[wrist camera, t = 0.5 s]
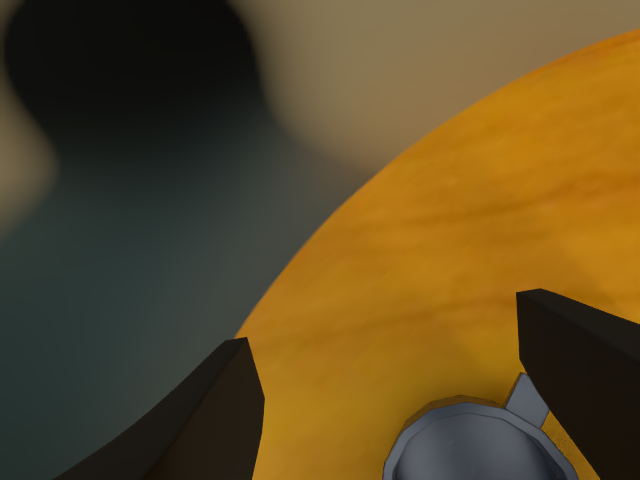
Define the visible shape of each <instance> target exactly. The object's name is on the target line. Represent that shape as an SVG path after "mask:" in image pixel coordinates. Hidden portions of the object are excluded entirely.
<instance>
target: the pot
mask: <svg viewBox="0 0 640 480" xmlns="http://www.w3.org/2000/svg"><path fill="white" fill-rule="evenodd" d="M549 411H550V409H549V408H548V406H547V405H546V404H545V402H544V401H543V399H542V398H541V396H540V395H539V394H538V392H537V390H536V389H535V387H534V385H533V383H532V382H531V380H530V378H529V376H528V375H527V374H525V373H523V372H520V373H519V375H518V377H517V379H516V381H515V382H514V384H513V386H512V388H511V390H510V392H509V394H508V396H507V398H506V400H505V402H504V404H503V406H501V405H500V404H498V403H496V402H495V401H492V400H486V399H481V398H476V397H469V396H463V395H458V396H454V397H449V398H444V399H441V400H437V401H432V402H430V403H428V404H427V405H426V406H424V407H423V408H422V409H420V410H419V411H417V412H416V413H415V414H414V415H413V416H411V417H410V418H409V419H408V420H407V421H406V422H405V424H404V426H403V427H402V429H401V431H400V433H399V435H398V437H397V439H396V441H395V442H394V444H393V446H392V448H391V450H390V453H389V455H388V457H387V459H386V461H385V463H384V467H383V477H382V480H579V478H578V476H577V473H576V471H575V469H574V468H573V465H572V464H571V463H570V462H569V461H568V459H567V458H566V457H565V456H564V455H563V454H562V452H561V451H560V450H559V449H558V448H557V446H556V445H555V444H554V443H553V442H552V441H551V439H550V438H549V437H548V436H547V435H546V433H545V432H543V431H542V430H541V427H542V425H543V423H544V421H545V419H546V417H547V415H548V413H549Z"/></svg>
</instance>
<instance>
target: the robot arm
mask: <svg viewBox="0 0 640 480" xmlns="http://www.w3.org/2000/svg"><path fill="white" fill-rule="evenodd" d="M516 299H517V319H518V338H519V358H520V361H521V363H522V365H523V367H524V368H525V370H526V372H527V374H528V376H529V378H530V380H531V382H532V383H533V385H534V387H535V389H536V390H537V392H538V394H539V395H540V396H541V398H542V399H543V401H544V402H545V404H546V405H547V406H548V408H549V409H550V410H551V412H552V413H553V415H554V416H555V417H556V419H557V420H558V421H559V423H560V424H561V426H562V427H563V428H564V430H565V431H566V432H567V434H568V435H569V436H570V438H571V439H572V440H573V442H574V443H575V445H576V446H577V447H578V449H579V450H580V451H581V453H582V454H583V455H584V457H585V458H586V459H587V461H588V462H589V464H590V465H591V466H592V468H593V469H594V470H595V472H596V473H597V475H598V476H599V478H600V479H601V480H640V324H637V323H634V322H631V321H629V320H626V319H623V318H620V317H617V316H615V315H612V314H609V313H607V312H604V311H601V310H599V309H596V308H593V307H591V306H588V305H586V304H583V303H580V302H578V301H575V300H573V299H570V298H567V297H565V296H562V295H559V294H557V293H554V292H551V291H548V290H544V289H541V288H540V289H534V290H528V291H522V292H516ZM264 402H265V397H264V394H263V390H262V387H261V383H260V380H259V377H258V373H257V370H256V366H255V363H254V359H253V356H252V352H251V349H250V346H249V342H248V339H247V337H244V338H238V339H232V340H226V341H224V342H223V343H222V344H221V345H220V346H218V348H216V349H215V350H214V351H213V352H212V353H211V354H210V355H209V356H208V357H207V358H206V359H205V360H204V361H203V362H202V363H201V364H200V365H199V366H198V367H197V368H196V369H195V370H194V371H193V372H192V373H191V374H190V375H189V376H187V377H186V378H185V379H184V380H183V381H182V382H181V383H180V384H179V385H178V386H177V387H176V388H175V389H174V390H173V391H171V392H170V393H169V394H168V395H167V396H166V397H165V398H164V399H162V401H160V402H159V403H158V404H157V405H156V406H155V407H154V408H152V409H151V410H150V411H149V412H148V413H147V414H145V415H144V416H143V417H142V418H141V419H139V420H138V421H137V422H136V423H134V424H133V425H132V426H130V427H129V428H128V429H127V430H125V431H124V432H123V433H121V434H120V435H119V436H117V437H116V438H115V439H113V440H112V441H110V442H109V443H108V444H106V445H105V446H103V447H102V448H100V449H99V450H97V451H96V452H94V453H93V454H91V455H90V456H88V457H87V458H85V459H84V460H82V461H81V462H79V463H78V464H76V465H75V466H73V467H72V468H70V469H69V470H67V471H66V472H64V473H62V474H61V475H59V476H57V477H56V478H54V479H52V480H252V476H253V472H254V468H255V463H256V458H257V454H258V449H259V445H260V440H261V435H262V427H263V416H264Z"/></svg>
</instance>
